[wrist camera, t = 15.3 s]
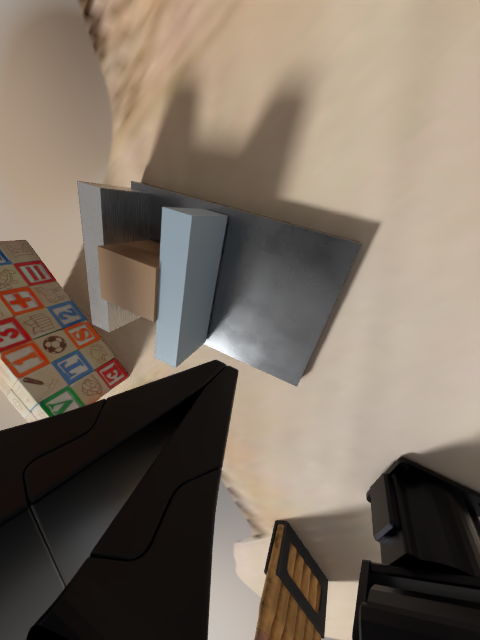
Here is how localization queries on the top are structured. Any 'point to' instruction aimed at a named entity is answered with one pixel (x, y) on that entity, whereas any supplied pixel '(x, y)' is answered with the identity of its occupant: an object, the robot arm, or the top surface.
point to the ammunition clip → (291, 591)
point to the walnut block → (131, 276)
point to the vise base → (231, 274)
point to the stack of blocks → (47, 341)
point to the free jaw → (186, 280)
